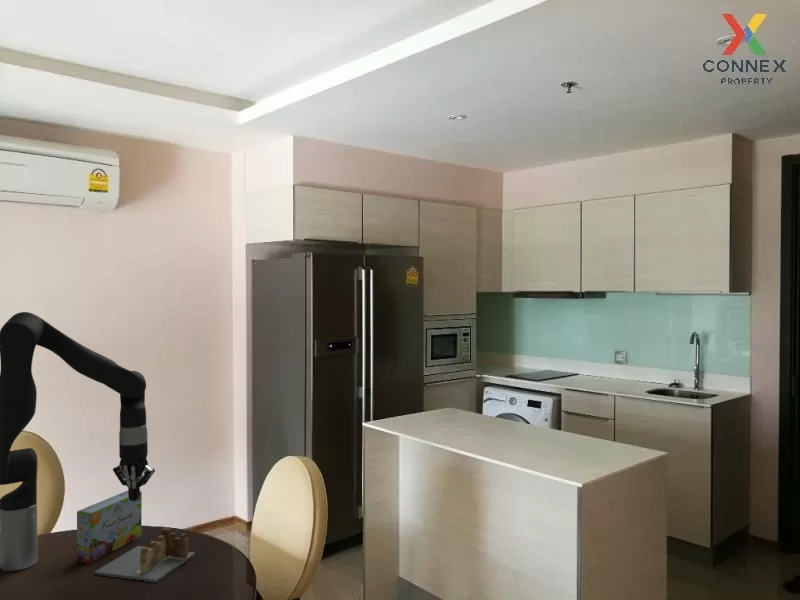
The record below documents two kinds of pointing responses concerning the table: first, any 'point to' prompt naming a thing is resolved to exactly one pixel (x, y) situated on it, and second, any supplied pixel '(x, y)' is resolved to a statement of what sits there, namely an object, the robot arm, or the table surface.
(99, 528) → the snack box
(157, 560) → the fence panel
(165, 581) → the table surface
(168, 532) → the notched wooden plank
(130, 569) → the board
